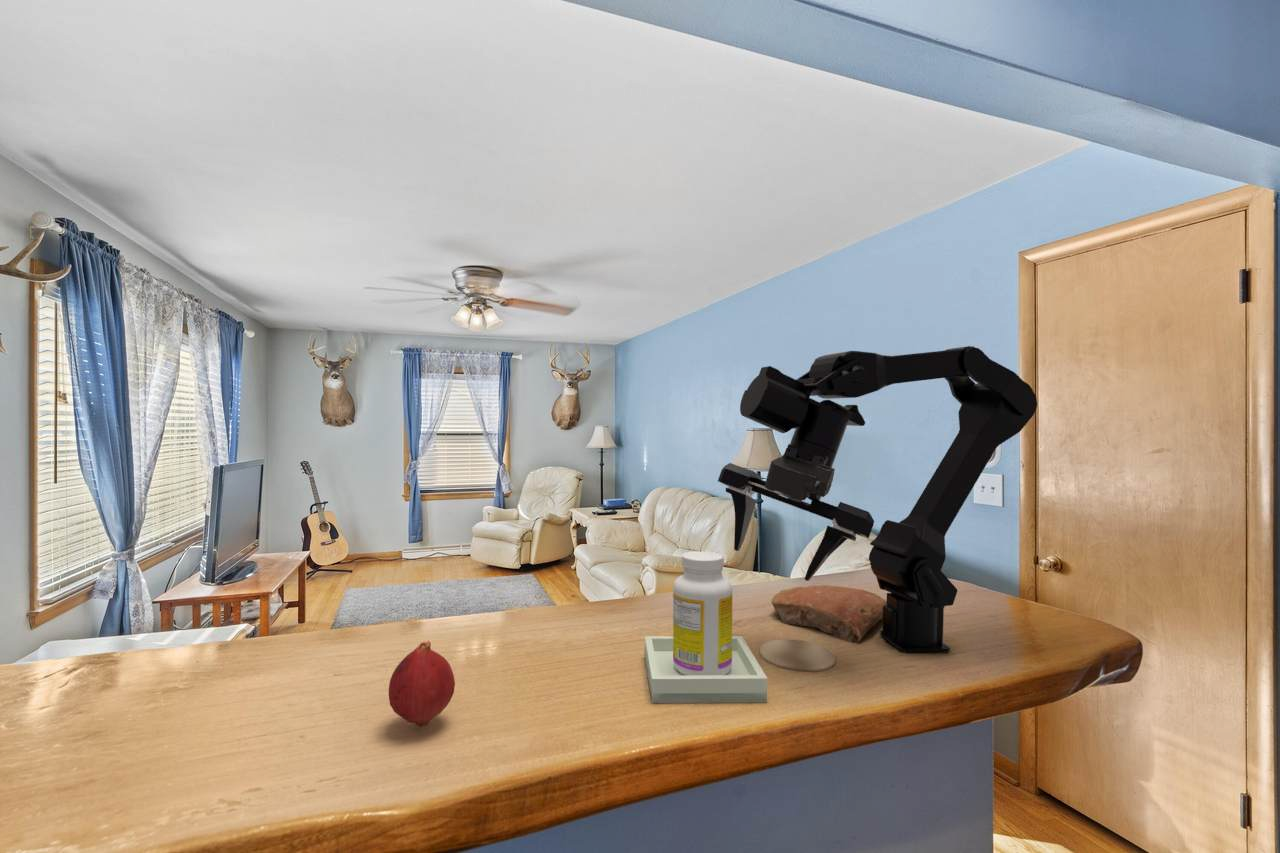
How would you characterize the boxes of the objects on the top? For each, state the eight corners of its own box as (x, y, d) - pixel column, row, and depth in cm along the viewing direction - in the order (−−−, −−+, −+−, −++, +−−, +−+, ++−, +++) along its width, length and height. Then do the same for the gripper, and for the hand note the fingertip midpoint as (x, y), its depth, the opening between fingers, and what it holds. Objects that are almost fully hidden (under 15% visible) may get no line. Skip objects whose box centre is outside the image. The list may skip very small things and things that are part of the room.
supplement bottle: (723, 655, 72) (724, 548, 72) (738, 679, 65) (740, 561, 65) (667, 657, 71) (669, 549, 71) (678, 682, 65) (679, 563, 64)
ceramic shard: (802, 567, 100) (896, 598, 91) (794, 605, 100) (886, 640, 91) (763, 572, 88) (866, 608, 79) (754, 615, 88) (855, 656, 79)
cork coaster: (819, 642, 80) (819, 639, 80) (846, 671, 71) (846, 667, 71) (752, 642, 79) (752, 639, 79) (771, 671, 70) (771, 668, 70)
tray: (741, 656, 75) (741, 636, 74) (766, 702, 63) (767, 678, 62) (644, 656, 74) (644, 636, 74) (651, 703, 62) (652, 679, 62)
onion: (388, 747, 53) (389, 656, 53) (387, 716, 58) (388, 634, 58) (457, 734, 55) (458, 647, 55) (450, 706, 60) (451, 627, 60)
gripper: (728, 410, 72) (682, 532, 71) (887, 459, 64) (838, 599, 63) (750, 430, 82) (710, 538, 81) (891, 475, 74) (848, 596, 73)
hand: (770, 565), depth 74 cm, fingers open, 9 cm apart
